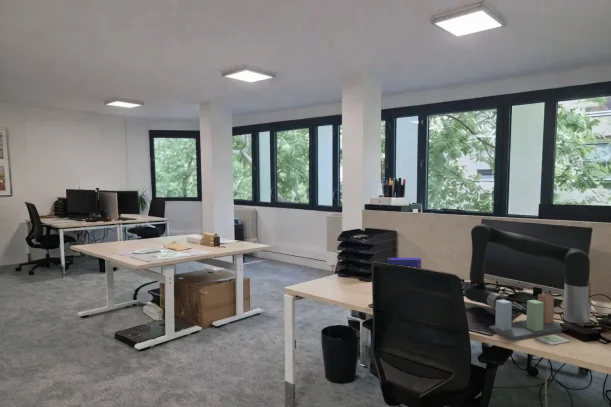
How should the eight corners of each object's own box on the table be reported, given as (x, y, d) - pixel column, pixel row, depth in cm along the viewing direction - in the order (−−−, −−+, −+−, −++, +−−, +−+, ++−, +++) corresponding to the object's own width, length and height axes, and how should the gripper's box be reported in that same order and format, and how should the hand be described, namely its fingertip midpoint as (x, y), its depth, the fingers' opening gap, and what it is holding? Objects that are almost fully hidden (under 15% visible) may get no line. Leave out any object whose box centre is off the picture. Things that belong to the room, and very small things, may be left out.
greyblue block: (503, 325, 176) (503, 299, 175) (511, 329, 172) (511, 302, 171) (495, 327, 174) (495, 300, 174) (503, 330, 170) (503, 303, 170)
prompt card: (554, 335, 168) (554, 333, 168) (570, 341, 162) (570, 340, 162) (536, 338, 165) (536, 337, 165) (551, 345, 159) (551, 343, 159)
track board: (542, 320, 186) (542, 317, 186) (568, 330, 174) (568, 326, 173) (489, 329, 176) (489, 326, 176) (512, 340, 164) (512, 336, 164)
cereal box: (419, 300, 220) (419, 257, 219) (421, 302, 215) (421, 259, 214) (387, 299, 222) (387, 257, 220) (388, 302, 217) (388, 259, 216)
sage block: (534, 326, 175) (534, 299, 174) (543, 329, 170) (543, 302, 170) (526, 327, 173) (526, 300, 172) (535, 331, 169) (535, 303, 168)
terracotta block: (544, 318, 183) (545, 293, 182) (553, 322, 179) (553, 296, 178) (537, 320, 182) (537, 294, 181) (545, 323, 178) (546, 297, 177)
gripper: (488, 296, 188) (518, 307, 171) (510, 293, 192) (542, 303, 175) (488, 311, 188) (518, 324, 172) (510, 308, 192) (541, 320, 176)
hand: (530, 313), depth 174 cm, fingers closed
